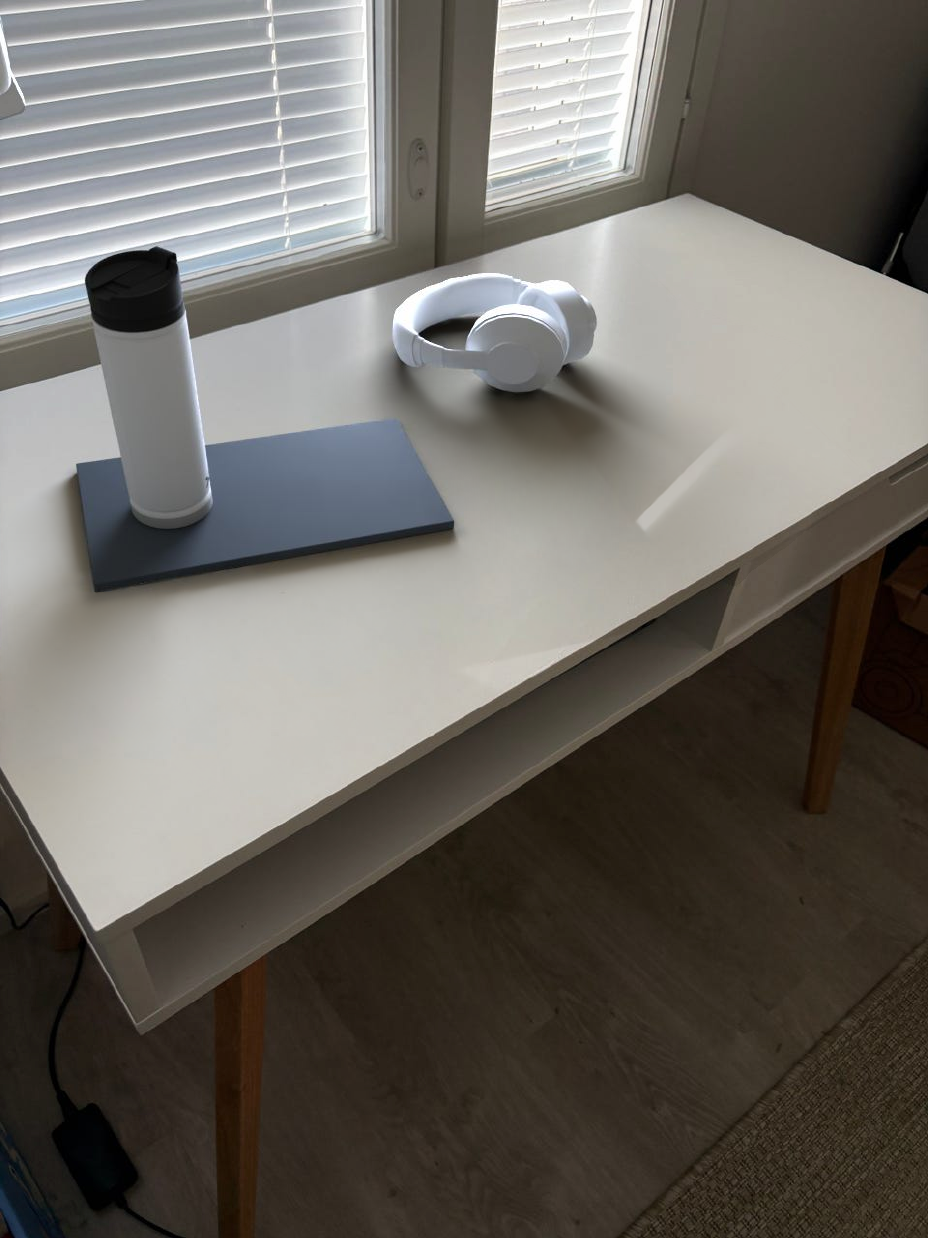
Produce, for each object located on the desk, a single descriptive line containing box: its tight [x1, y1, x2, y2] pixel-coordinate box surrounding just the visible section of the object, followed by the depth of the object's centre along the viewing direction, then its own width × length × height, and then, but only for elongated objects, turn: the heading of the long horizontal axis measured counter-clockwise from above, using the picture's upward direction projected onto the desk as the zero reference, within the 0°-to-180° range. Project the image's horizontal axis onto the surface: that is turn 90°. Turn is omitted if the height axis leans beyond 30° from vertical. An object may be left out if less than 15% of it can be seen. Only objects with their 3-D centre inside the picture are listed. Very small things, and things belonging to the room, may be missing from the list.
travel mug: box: [84, 245, 212, 529], centre depth 74 cm, size 6×7×20 cm
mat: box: [75, 417, 455, 593], centre depth 83 cm, size 28×16×1 cm, turn 110°
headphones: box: [392, 272, 598, 393], centre depth 101 cm, size 18×8×20 cm
